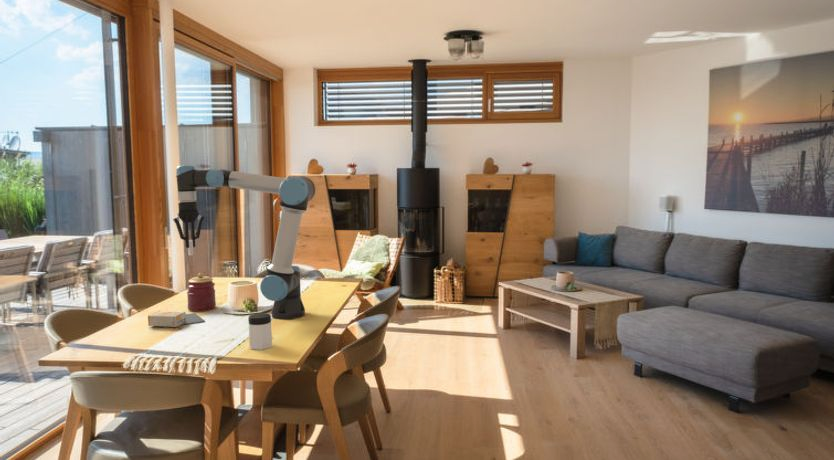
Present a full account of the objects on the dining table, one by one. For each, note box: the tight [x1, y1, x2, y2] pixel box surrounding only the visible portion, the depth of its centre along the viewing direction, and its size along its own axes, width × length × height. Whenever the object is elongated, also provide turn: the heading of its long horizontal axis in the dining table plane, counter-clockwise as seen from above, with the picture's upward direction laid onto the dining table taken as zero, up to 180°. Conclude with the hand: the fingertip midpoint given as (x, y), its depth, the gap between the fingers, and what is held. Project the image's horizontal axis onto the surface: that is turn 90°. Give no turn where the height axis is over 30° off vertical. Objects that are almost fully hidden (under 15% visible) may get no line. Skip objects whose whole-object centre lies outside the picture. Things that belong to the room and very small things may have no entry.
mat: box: [161, 312, 206, 329], centre depth 261 cm, size 18×17×1 cm
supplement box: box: [147, 310, 187, 328], centre depth 253 cm, size 8×5×13 cm
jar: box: [248, 312, 273, 351], centre depth 220 cm, size 9×8×12 cm
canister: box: [186, 272, 217, 312], centre depth 283 cm, size 13×13×18 cm
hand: (191, 255), depth 256 cm, fingers closed
